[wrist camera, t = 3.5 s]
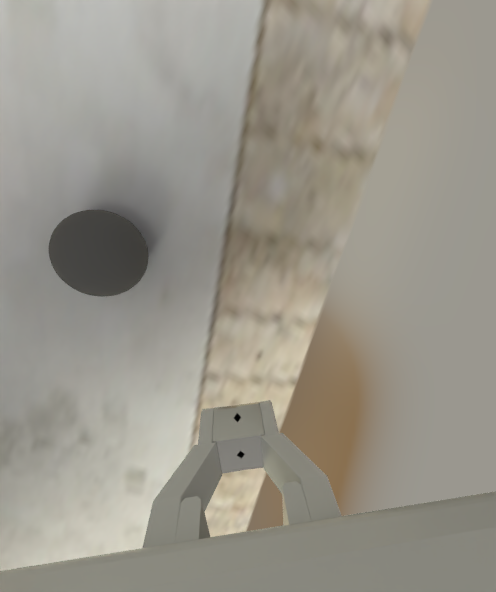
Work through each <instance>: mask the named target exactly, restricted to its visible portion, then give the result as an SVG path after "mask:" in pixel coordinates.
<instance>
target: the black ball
mask: <svg viewBox="0 0 496 592" xmlns="http://www.w3.org/2000/svg"><path fill="white" fill-rule="evenodd" d="M49 256H50V260H51V263H52V266H53V268H54V270H55V271H56V273H57V274H58V276H59V277H60V278H61V279H62V280H63V281H64V282H65V283H66V284H68V285H69V286H71V287H72V288H74V289H76V290H77V291H80V292H82V293H85V294H88V295H93V296H112V295H117V294H120V293H123V292H125V291H127V290H129V289H130V288H132V287H133V286H134V285H136V284H137V283H138V282H139V281H140V279H141V278H142V276H143V275H144V273H145V271H146V268H147V264H148V250H147V246H146V243H145V240H144V238H143V237H142V235H141V233H140V232H139V231H138V229H137V228H136V227H135V226H134V225H133V224H132V223H130V222H129V221H128V220H126V219H125V218H123V217H121V216H119V215H117V214H114V213H112V212H108V211H103V210H86V211H81V212H78V213H75V214H72V215H70V216H69V217H67V218H66V219H64V220H63V221H62V222H61V223H59V225H58V226H57V227H56V228H55V230H54V231H53V233H52V236H51V239H50V243H49Z"/></svg>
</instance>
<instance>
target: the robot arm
mask: <svg viewBox="0 0 496 592" xmlns="http://www.w3.org/2000/svg"><path fill="white" fill-rule="evenodd" d="M263 467H264V470H265V471H266V472H267V474H268V475H269V476H270V478H271V479H272V481H273V482H274V483H275V485H276V486H277V487H278V489H279V490H280V492H281V493H282V495H283V526H278V527H272V528H266V529H260V530H253V531H247V532H241V533H234V534H228V535H222V536H216V537H210V534H209V529H208V525H207V521H206V517H205V513H204V512H205V510H206V507H207V505H208V503H209V501H210V499H211V497H212V495H213V493H214V491H215V489H216V487H217V485H218V482H219V480H220V478H221V476H222V473H228V472H234V471H239V470H246V469H255V468H263ZM0 592H496V492H490V493H483V494H477V495H471V496H465V497H459V498H453V499H446V500H440V501H434V502H427V503H421V504H415V505H409V506H404V507H396V508H391V509H384V510H378V511H372V512H365V513H359V514H353V515H347V516H341V513H340V511H339V508H338V505H337V502H336V500H335V497H334V494H333V491H332V489H331V486H330V483H329V480H328V478H327V476H326V475H325V474H324V473H323V472H322V471H321V470H320V469H319V468H318V467H317V466H316V465H315V464H314V463H313V462H312V461H311V460H310V459H309V458H308V457H307V456H306V455H304V453H303V452H302V451H300V450H299V449H298V448H297V447H296V446H295V445H294V444H293V443H292V442H291V441H290V440H289V439H288V438H287V437H286V436H285V435H284V434H283V433H279V432H278V428H277V424H276V419H275V415H274V411H273V407H272V402H271V401H263V402H255V403H248V404H241V405H236V406H227V407H217V408H210V409H202V412H201V420H200V430H199V440H198V445H194V446H193V448H192V449H191V451H190V452H189V453H188V455H187V456H186V457H185V459H184V460H183V461H182V463H181V464H180V466H179V467H178V468H177V470H176V471H175V472H174V474H173V475H172V476H171V478H170V479H169V481H168V482H167V483H166V485H165V486H164V487H163V489H162V490H161V492H160V493H159V494H158V496H157V497H156V498H155V500H154V501H153V505H152V509H151V514H150V518H149V522H148V527H147V531H146V535H145V540H144V544H143V548H141V549H135V550H129V551H123V552H116V553H110V554H104V555H98V556H92V557H85V558H79V559H73V560H67V561H61V562H54V563H48V564H42V565H36V566H29V567H23V568H17V569H10V570H4V571H0Z"/></svg>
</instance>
